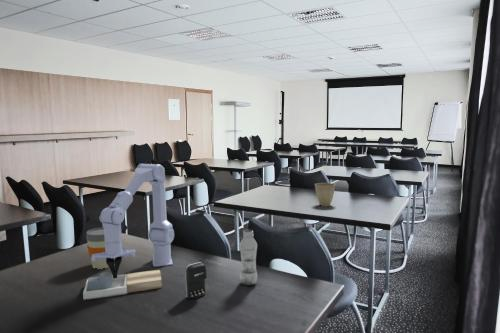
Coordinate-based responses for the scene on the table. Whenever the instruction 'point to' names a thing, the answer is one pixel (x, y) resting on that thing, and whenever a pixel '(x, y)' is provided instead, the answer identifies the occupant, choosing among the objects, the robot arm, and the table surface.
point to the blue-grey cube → (106, 279)
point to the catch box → (108, 289)
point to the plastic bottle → (248, 258)
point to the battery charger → (195, 280)
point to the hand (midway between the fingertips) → (115, 277)
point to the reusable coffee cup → (96, 246)
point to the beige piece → (144, 281)
